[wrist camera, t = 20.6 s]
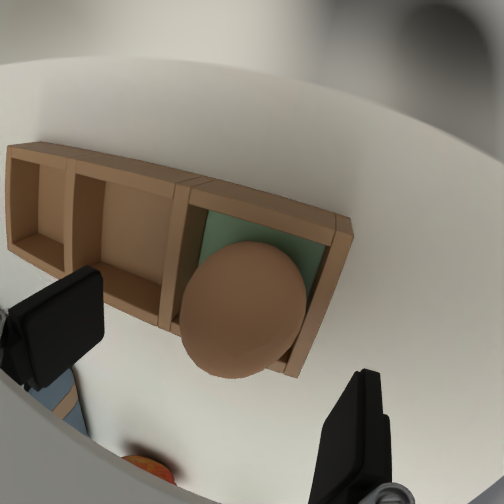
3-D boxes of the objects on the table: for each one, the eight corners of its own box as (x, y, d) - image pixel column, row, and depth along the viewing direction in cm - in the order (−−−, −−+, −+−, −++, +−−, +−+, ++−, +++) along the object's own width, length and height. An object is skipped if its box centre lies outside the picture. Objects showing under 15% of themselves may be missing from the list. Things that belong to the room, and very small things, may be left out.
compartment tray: (350, 217, 16) (354, 235, 13) (304, 343, 19) (297, 378, 16) (40, 141, 19) (6, 145, 16) (36, 237, 22) (7, 249, 19)
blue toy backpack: (80, 364, 26) (-25, 466, 11) (97, 445, 32) (35, 523, 17) (-9, 299, 28) (-99, 357, 14) (16, 386, 34) (-46, 442, 20)
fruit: (149, 437, 27) (111, 492, 20) (201, 480, 28) (175, 534, 20) (115, 444, 30) (82, 489, 23) (161, 483, 31) (135, 527, 24)
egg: (221, 218, 17) (138, 274, 9) (319, 233, 16) (304, 309, 8) (217, 303, 19) (151, 390, 11) (303, 321, 17) (278, 427, 10)
